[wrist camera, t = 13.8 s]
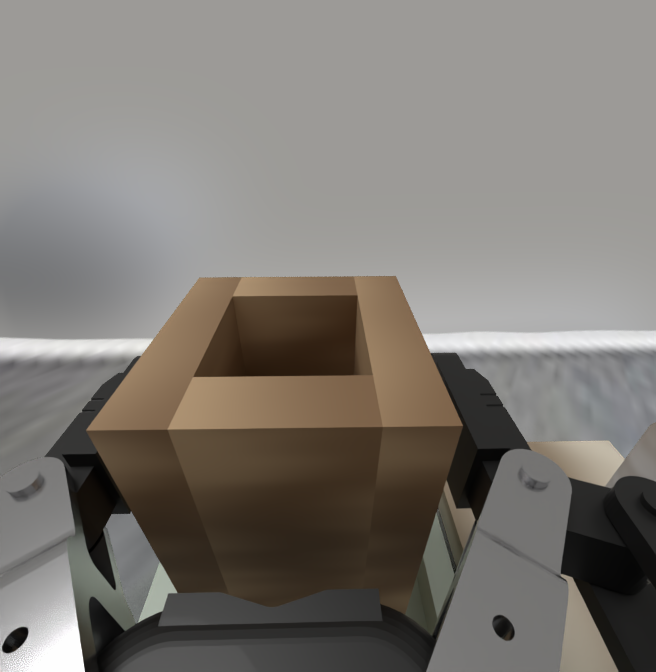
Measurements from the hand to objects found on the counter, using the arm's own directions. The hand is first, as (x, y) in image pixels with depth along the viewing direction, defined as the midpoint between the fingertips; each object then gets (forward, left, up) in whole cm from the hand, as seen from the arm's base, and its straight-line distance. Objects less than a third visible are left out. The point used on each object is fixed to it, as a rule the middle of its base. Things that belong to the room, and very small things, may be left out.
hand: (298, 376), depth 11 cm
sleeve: (0, -2, -9) cm, 9 cm away
